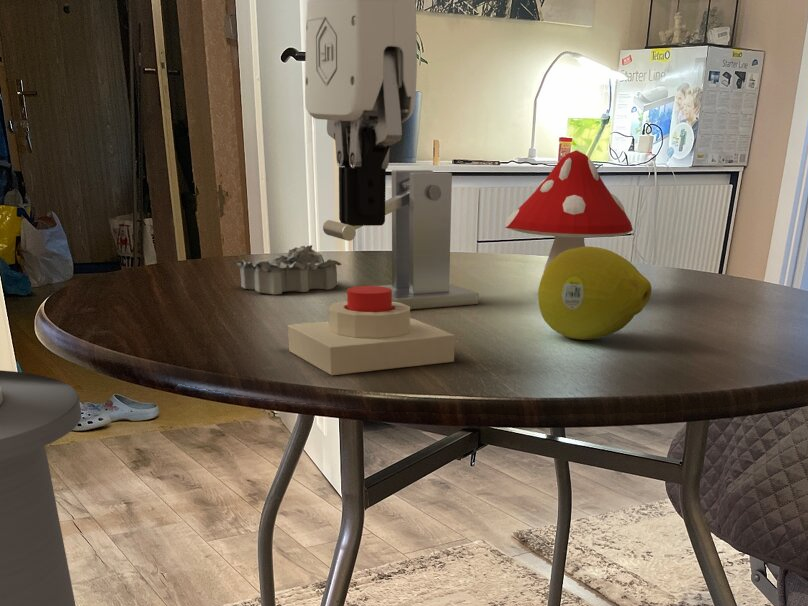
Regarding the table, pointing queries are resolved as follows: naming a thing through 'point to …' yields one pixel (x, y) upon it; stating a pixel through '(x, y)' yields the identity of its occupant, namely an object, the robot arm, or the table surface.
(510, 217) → the decorative mushroom
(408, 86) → the robot arm
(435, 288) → the grey lever stand
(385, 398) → the table surface
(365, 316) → the control block
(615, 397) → the table surface
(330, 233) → the tap lever
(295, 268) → the egg carton
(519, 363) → the table surface
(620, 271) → the lemon
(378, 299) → the button
